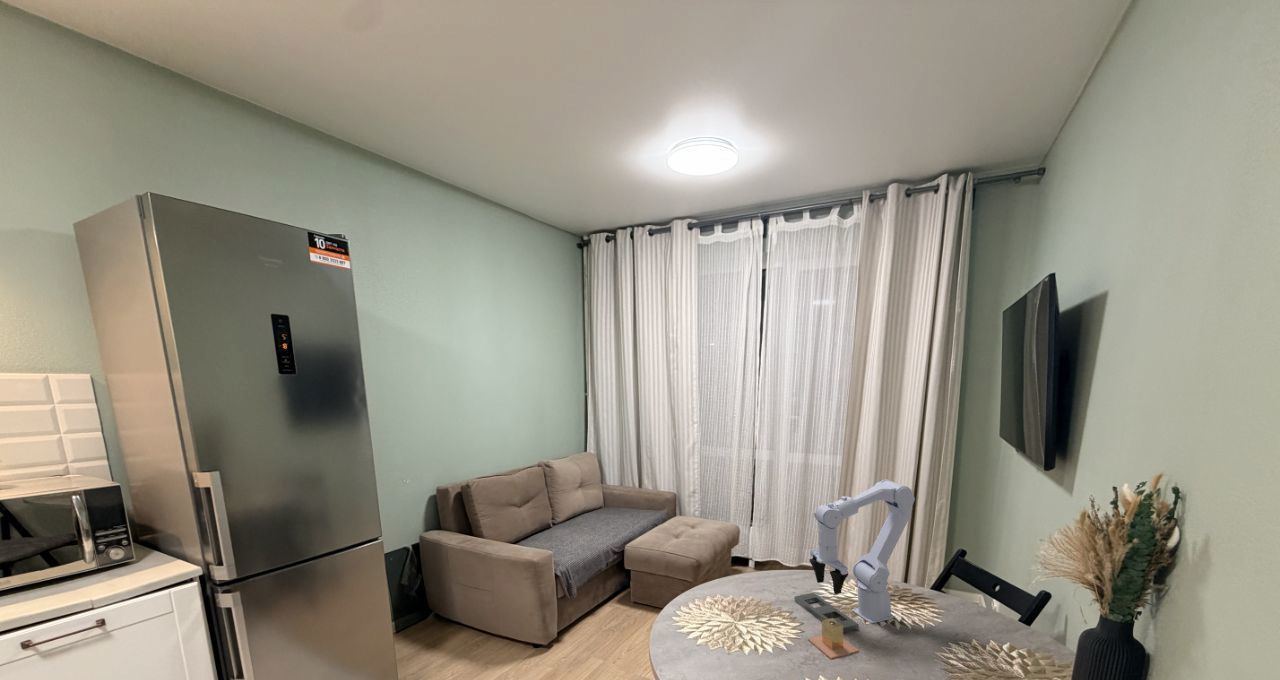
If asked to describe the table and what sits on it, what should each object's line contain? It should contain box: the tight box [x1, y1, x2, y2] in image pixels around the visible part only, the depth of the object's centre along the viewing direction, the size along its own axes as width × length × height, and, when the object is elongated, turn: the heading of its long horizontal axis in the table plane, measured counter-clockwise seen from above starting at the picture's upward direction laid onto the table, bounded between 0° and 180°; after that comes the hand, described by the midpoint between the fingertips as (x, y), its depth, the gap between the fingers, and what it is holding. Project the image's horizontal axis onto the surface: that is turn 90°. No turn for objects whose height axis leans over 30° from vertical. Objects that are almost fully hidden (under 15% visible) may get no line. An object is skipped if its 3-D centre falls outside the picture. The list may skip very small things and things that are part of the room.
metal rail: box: [794, 592, 860, 634], centre depth 144 cm, size 8×20×2 cm, turn 19°
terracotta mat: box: [808, 635, 860, 660], centre depth 128 cm, size 10×9×1 cm
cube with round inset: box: [821, 617, 844, 650], centre depth 128 cm, size 4×4×6 cm
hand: (828, 587), depth 143 cm, fingers open, 7 cm apart
